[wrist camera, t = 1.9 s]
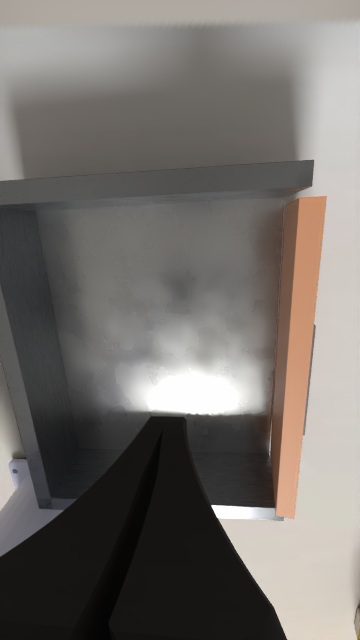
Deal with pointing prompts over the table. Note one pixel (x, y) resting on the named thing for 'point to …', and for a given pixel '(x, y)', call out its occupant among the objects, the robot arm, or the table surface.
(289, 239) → the panel
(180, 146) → the table surface
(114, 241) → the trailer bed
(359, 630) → the ceramic cup
